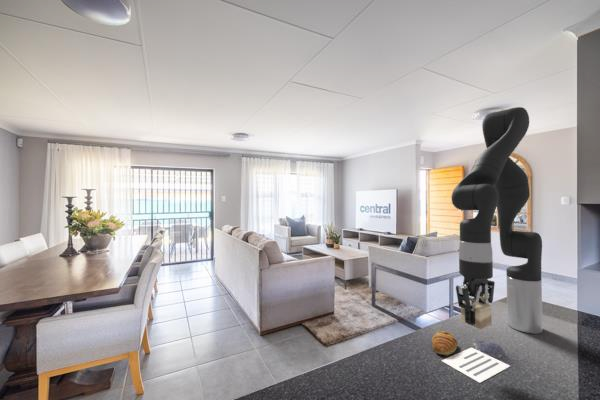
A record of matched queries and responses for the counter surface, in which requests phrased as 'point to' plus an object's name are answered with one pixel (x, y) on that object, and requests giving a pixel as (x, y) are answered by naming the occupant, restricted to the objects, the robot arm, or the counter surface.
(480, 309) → the maple cube
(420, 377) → the counter surface
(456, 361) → the letter
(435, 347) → the pastry
